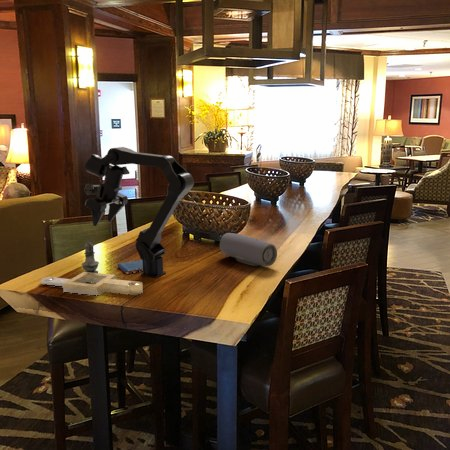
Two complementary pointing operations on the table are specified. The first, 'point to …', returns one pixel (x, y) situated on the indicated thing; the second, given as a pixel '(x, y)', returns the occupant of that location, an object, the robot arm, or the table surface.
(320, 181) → the table surface
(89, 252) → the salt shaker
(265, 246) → the bluetooth speaker
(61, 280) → the cream handled frame
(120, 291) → the square wooden loop
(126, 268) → the woven mat
